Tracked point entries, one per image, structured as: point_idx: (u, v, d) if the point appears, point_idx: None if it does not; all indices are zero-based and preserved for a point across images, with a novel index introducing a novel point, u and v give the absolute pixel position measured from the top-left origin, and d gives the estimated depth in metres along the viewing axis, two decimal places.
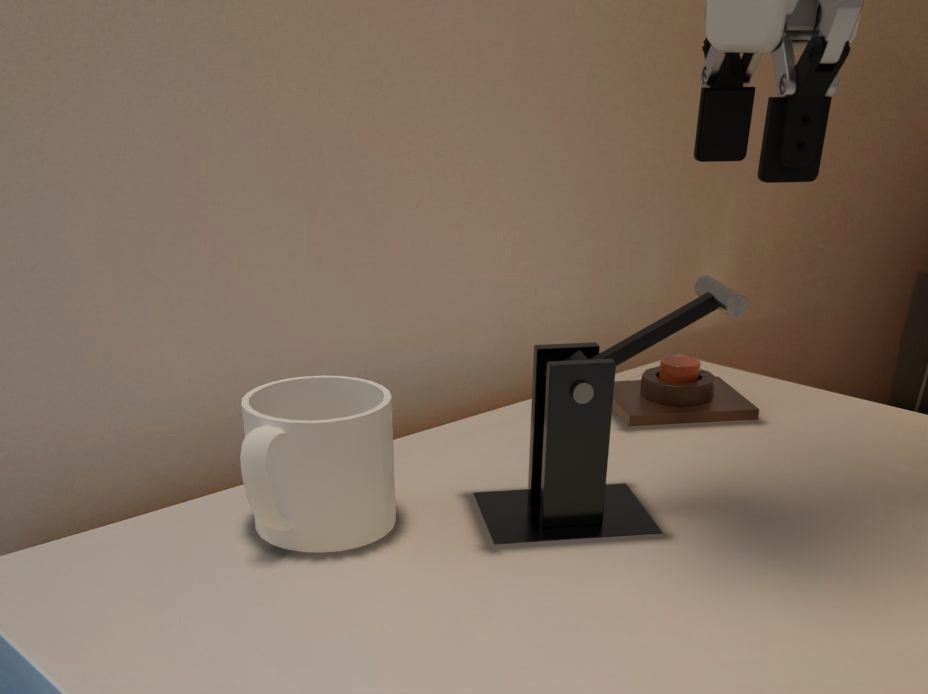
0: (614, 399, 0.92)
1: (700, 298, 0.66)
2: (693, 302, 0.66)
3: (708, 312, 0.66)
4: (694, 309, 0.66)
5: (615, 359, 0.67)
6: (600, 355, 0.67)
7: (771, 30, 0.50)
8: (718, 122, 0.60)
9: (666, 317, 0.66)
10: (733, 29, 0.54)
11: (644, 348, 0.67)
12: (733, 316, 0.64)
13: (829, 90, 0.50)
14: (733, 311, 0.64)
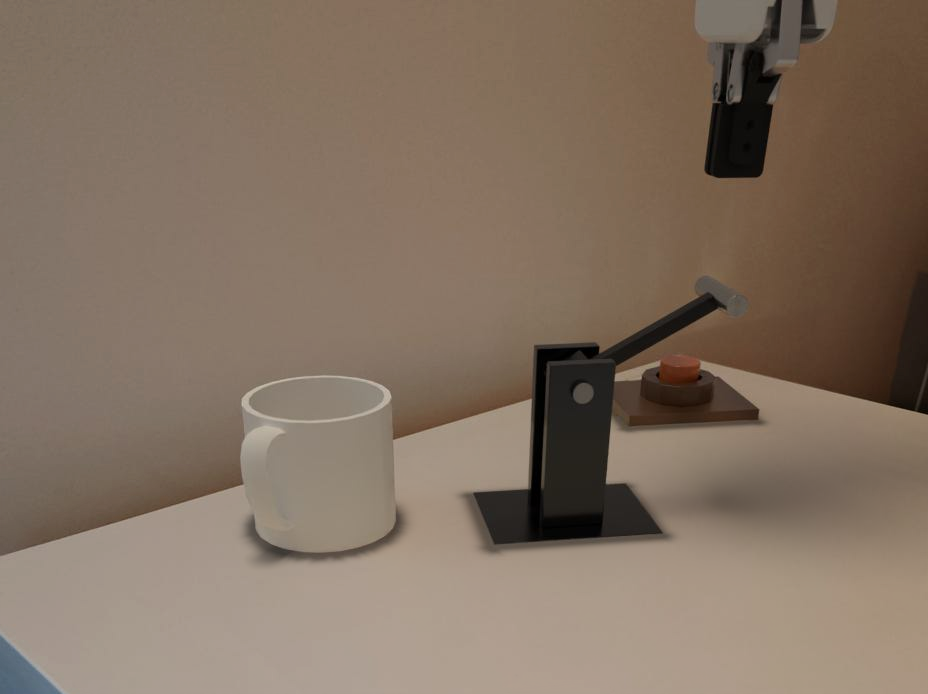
0: (614, 399, 0.92)
1: (700, 298, 0.66)
2: (693, 302, 0.66)
3: (708, 312, 0.66)
4: (694, 309, 0.66)
5: (615, 359, 0.67)
6: (600, 355, 0.67)
7: (754, 21, 0.54)
8: None
9: (666, 317, 0.66)
10: (720, 21, 0.57)
11: (644, 348, 0.67)
12: (733, 316, 0.64)
13: (766, 104, 0.59)
14: (733, 311, 0.64)
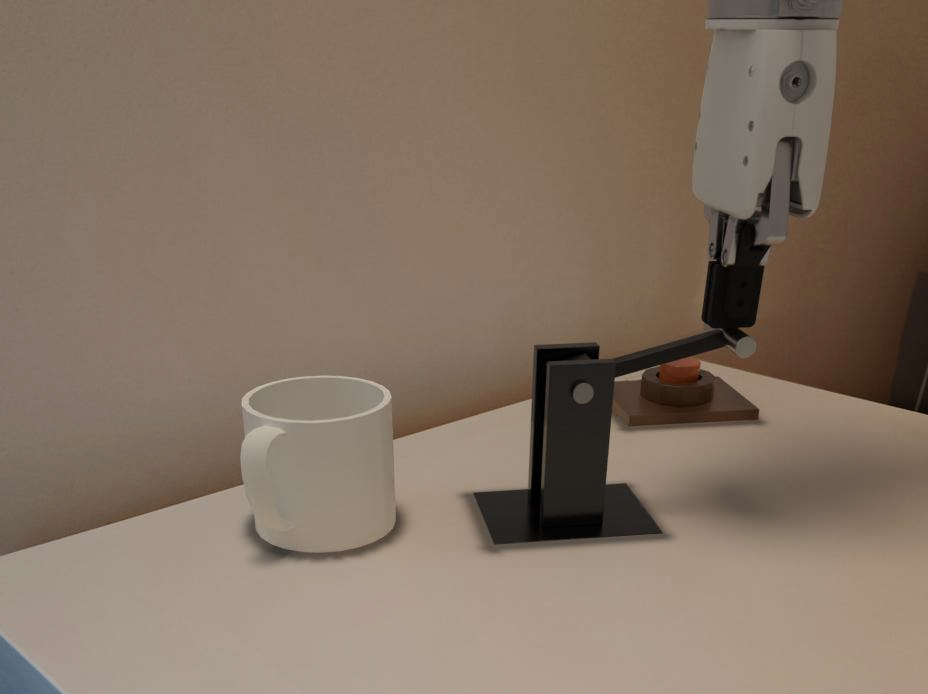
0: (614, 399, 0.92)
1: (710, 333, 0.67)
2: (702, 334, 0.67)
3: (715, 348, 0.67)
4: (703, 341, 0.67)
5: (618, 370, 0.67)
6: None
7: (745, 204, 0.59)
8: None
9: (674, 342, 0.67)
10: (714, 193, 0.62)
11: (648, 366, 0.67)
12: (740, 355, 0.65)
13: (758, 265, 0.64)
14: (741, 351, 0.65)
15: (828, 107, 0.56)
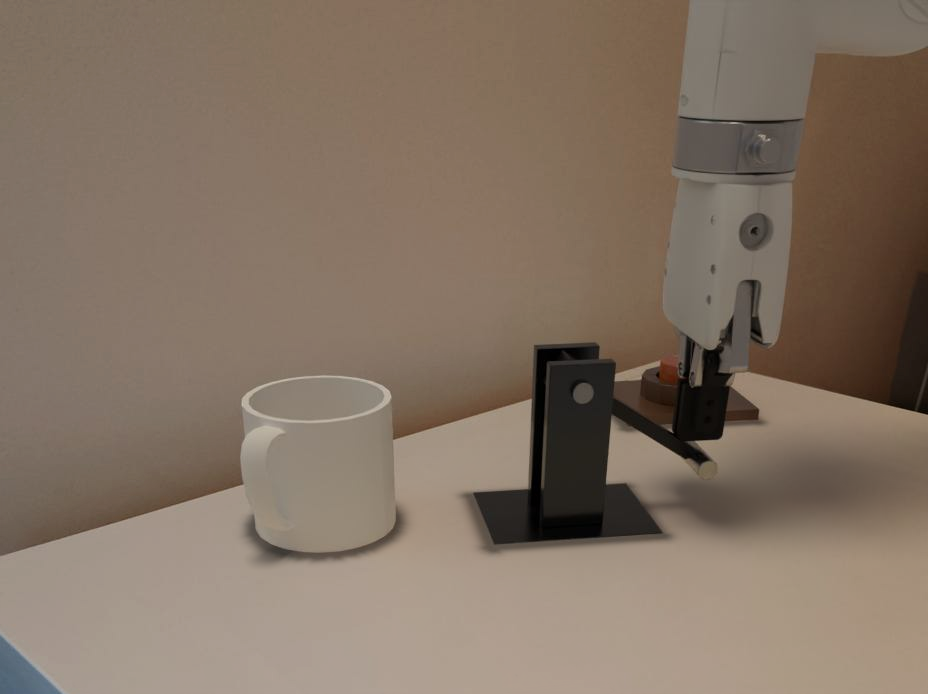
0: None
1: None
2: None
3: (680, 454, 0.71)
4: (677, 441, 0.70)
5: None
6: None
7: (709, 338, 0.63)
8: None
9: (657, 424, 0.70)
10: (682, 320, 0.66)
11: (629, 422, 0.69)
12: (699, 472, 0.69)
13: (724, 386, 0.68)
14: (703, 469, 0.69)
15: (785, 253, 0.60)
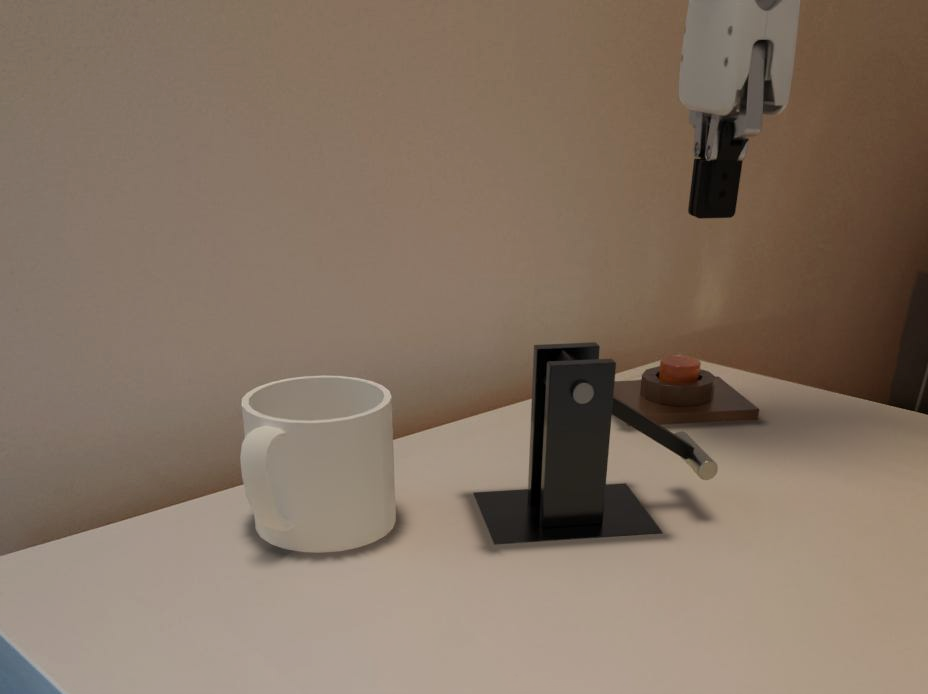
0: None
1: (684, 440, 0.71)
2: (678, 437, 0.71)
3: (679, 454, 0.71)
4: (677, 441, 0.70)
5: None
6: None
7: (726, 100, 0.69)
8: None
9: (657, 424, 0.70)
10: (699, 96, 0.72)
11: (629, 422, 0.69)
12: (699, 472, 0.69)
13: (737, 160, 0.74)
14: (703, 470, 0.69)
15: (795, 14, 0.67)
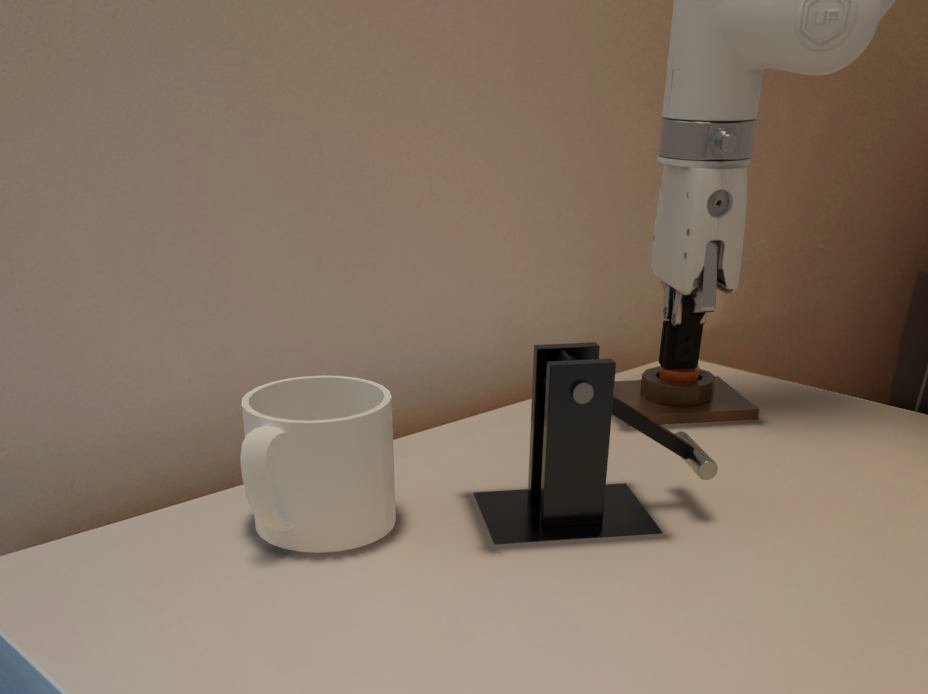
0: None
1: (684, 440, 0.71)
2: (678, 437, 0.71)
3: (679, 454, 0.71)
4: (677, 441, 0.70)
5: None
6: None
7: (686, 285, 0.83)
8: None
9: (657, 424, 0.70)
10: (666, 274, 0.87)
11: (629, 422, 0.69)
12: (699, 472, 0.69)
13: (698, 325, 0.88)
14: (703, 470, 0.69)
15: (742, 220, 0.81)
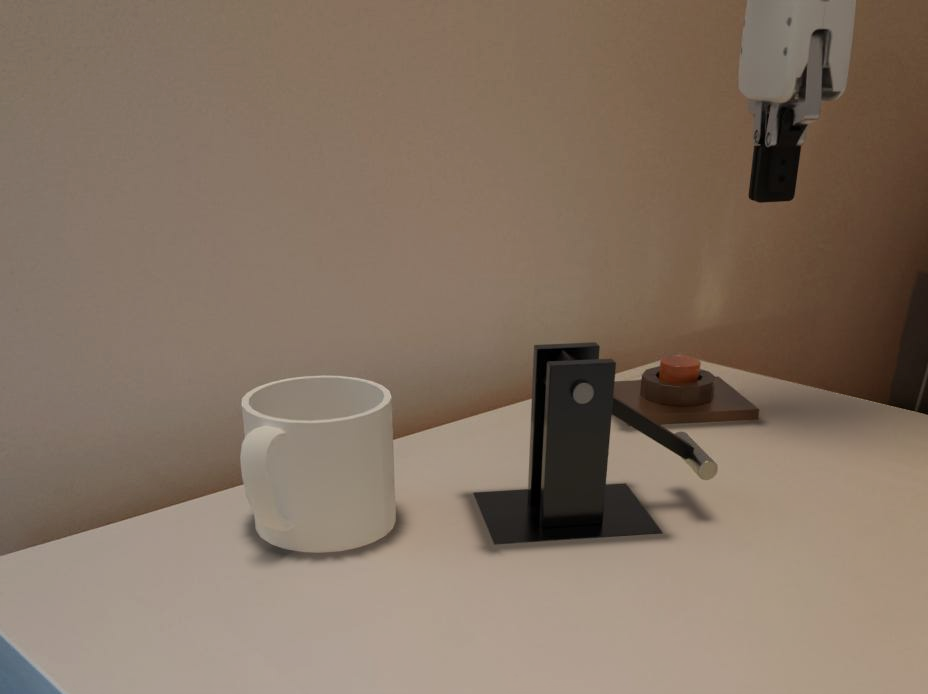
0: None
1: (684, 440, 0.71)
2: (678, 437, 0.71)
3: (679, 454, 0.71)
4: (677, 441, 0.70)
5: None
6: None
7: (786, 88, 0.72)
8: None
9: (657, 424, 0.70)
10: (759, 85, 0.76)
11: (629, 422, 0.69)
12: (699, 472, 0.69)
13: (796, 146, 0.77)
14: (703, 470, 0.69)
15: (852, 4, 0.70)
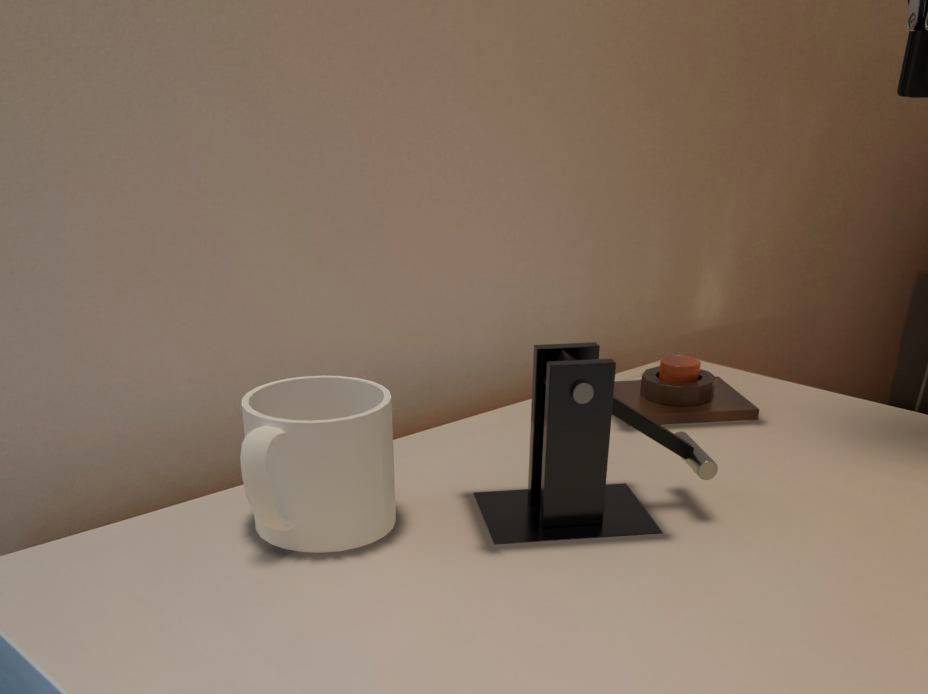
0: None
1: (684, 440, 0.71)
2: (678, 437, 0.71)
3: (679, 454, 0.71)
4: (677, 441, 0.70)
5: None
6: None
7: None
8: None
9: (657, 424, 0.70)
10: None
11: (629, 422, 0.69)
12: (699, 472, 0.69)
13: None
14: (703, 470, 0.69)
15: None
